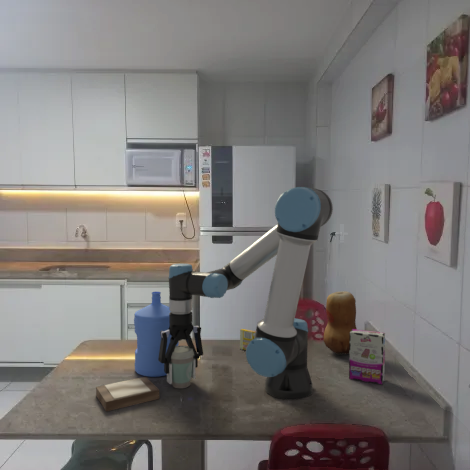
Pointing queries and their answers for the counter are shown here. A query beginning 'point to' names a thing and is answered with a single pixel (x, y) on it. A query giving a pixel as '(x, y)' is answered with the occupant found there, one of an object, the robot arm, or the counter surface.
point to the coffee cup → (181, 366)
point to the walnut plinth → (126, 393)
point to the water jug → (151, 336)
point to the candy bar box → (367, 356)
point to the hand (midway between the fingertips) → (181, 379)
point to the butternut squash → (339, 321)
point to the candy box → (246, 338)
